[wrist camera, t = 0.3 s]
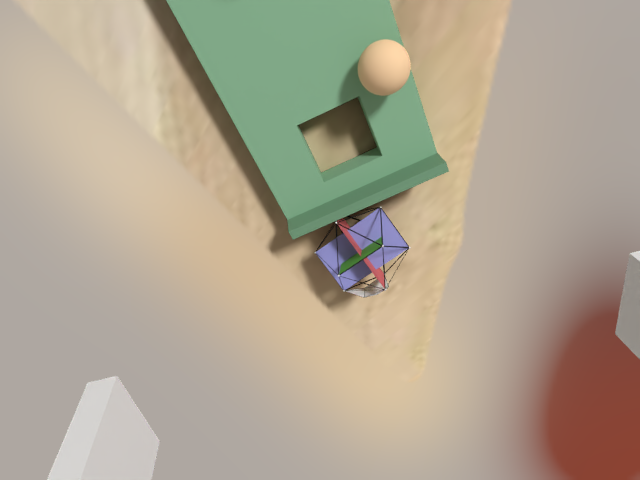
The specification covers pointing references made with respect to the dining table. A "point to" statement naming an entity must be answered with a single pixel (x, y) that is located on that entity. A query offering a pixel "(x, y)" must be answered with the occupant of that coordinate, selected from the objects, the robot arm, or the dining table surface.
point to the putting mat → (310, 98)
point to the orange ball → (384, 67)
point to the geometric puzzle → (363, 252)
